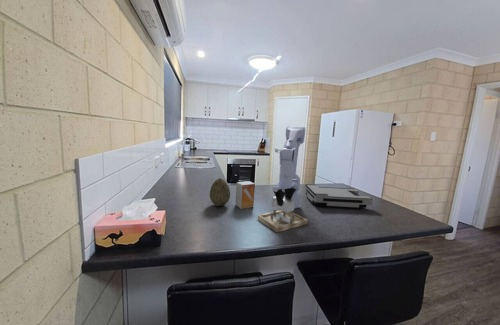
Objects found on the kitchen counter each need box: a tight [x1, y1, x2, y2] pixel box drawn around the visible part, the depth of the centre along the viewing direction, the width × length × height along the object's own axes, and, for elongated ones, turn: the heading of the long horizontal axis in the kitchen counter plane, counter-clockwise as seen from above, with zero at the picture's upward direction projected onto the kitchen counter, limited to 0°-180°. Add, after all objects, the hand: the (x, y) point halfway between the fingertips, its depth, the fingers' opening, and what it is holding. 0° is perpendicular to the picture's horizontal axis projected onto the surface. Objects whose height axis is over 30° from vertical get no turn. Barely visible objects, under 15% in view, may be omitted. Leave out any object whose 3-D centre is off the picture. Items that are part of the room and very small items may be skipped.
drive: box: [271, 195, 295, 213], centre depth 94 cm, size 5×9×5 cm, turn 42°
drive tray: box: [257, 208, 308, 233], centre depth 95 cm, size 18×14×4 cm
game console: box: [304, 183, 374, 211], centre depth 125 cm, size 21×32×8 cm, turn 90°
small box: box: [235, 180, 256, 210], centre depth 111 cm, size 8×6×13 cm
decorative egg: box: [209, 177, 231, 207], centre depth 109 cm, size 11×11×15 cm
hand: (283, 204), depth 94 cm, fingers closed on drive, 5 cm apart
